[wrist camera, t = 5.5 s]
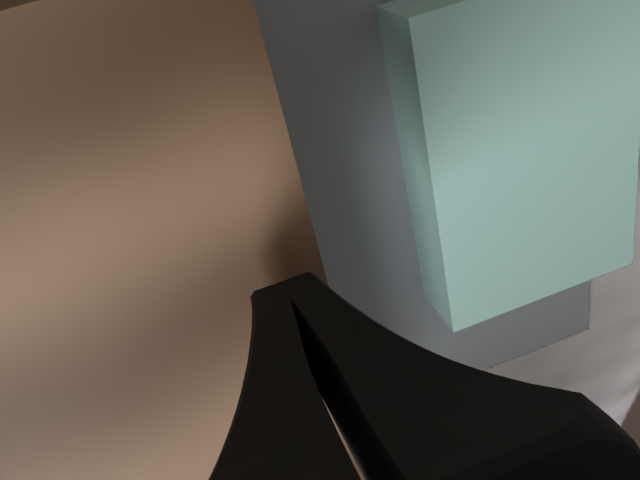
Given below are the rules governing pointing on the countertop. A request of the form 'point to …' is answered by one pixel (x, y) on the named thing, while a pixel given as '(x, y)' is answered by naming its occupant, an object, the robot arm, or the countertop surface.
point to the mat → (377, 185)
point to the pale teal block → (515, 144)
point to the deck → (136, 231)
